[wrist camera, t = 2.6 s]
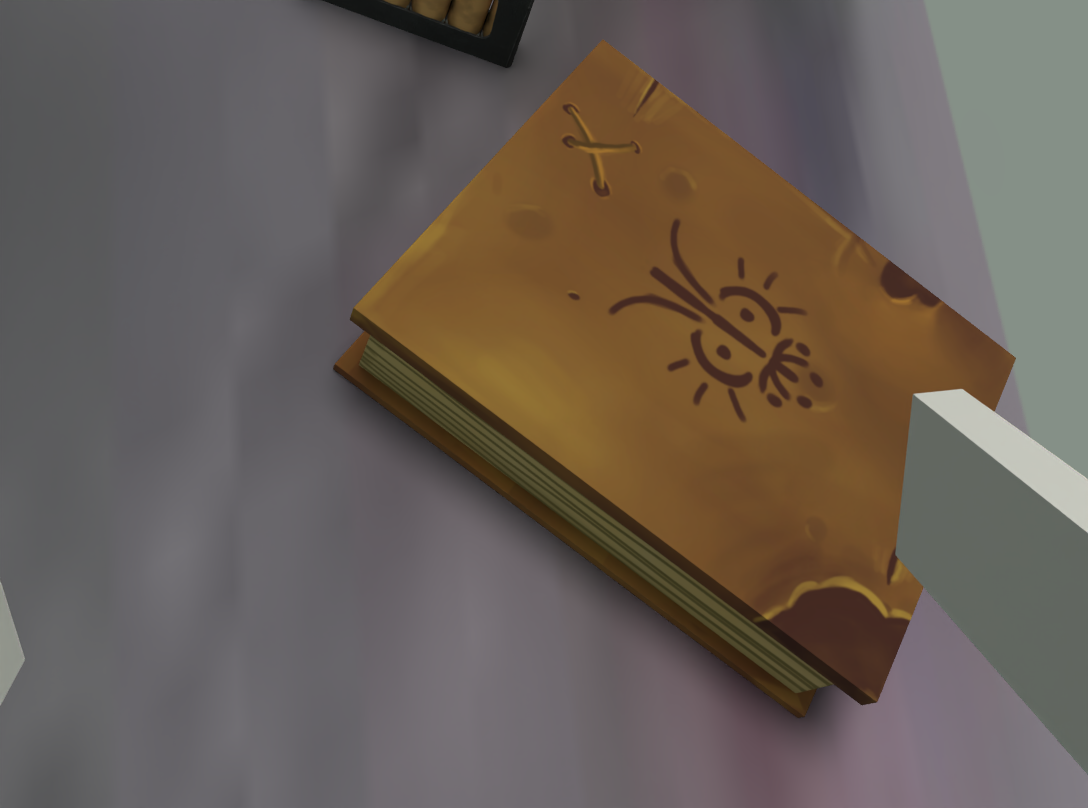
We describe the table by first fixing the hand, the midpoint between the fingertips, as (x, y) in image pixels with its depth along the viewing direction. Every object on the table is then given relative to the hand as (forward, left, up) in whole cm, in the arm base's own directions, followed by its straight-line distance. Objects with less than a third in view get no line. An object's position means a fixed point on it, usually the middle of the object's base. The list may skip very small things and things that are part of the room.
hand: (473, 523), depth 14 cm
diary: (+10, +18, -23) cm, 31 cm away
